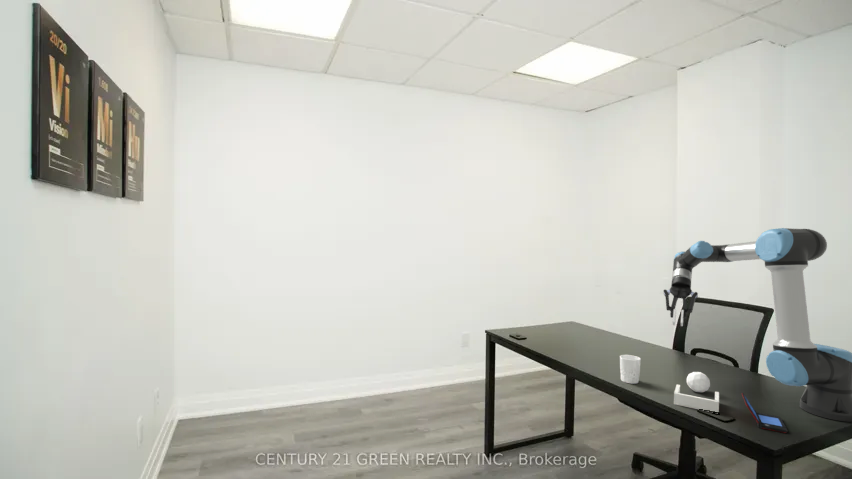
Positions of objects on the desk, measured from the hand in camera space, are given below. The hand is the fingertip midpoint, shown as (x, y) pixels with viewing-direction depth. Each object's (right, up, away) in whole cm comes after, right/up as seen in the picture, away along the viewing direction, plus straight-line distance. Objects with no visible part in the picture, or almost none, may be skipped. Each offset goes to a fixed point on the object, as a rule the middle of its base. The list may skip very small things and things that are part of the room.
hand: (677, 323), depth 177 cm
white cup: (-21, -24, -1) cm, 32 cm away
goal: (-7, -24, -23) cm, 34 cm away
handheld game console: (+5, -25, -38) cm, 46 cm away
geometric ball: (+1, -25, -12) cm, 27 cm away
